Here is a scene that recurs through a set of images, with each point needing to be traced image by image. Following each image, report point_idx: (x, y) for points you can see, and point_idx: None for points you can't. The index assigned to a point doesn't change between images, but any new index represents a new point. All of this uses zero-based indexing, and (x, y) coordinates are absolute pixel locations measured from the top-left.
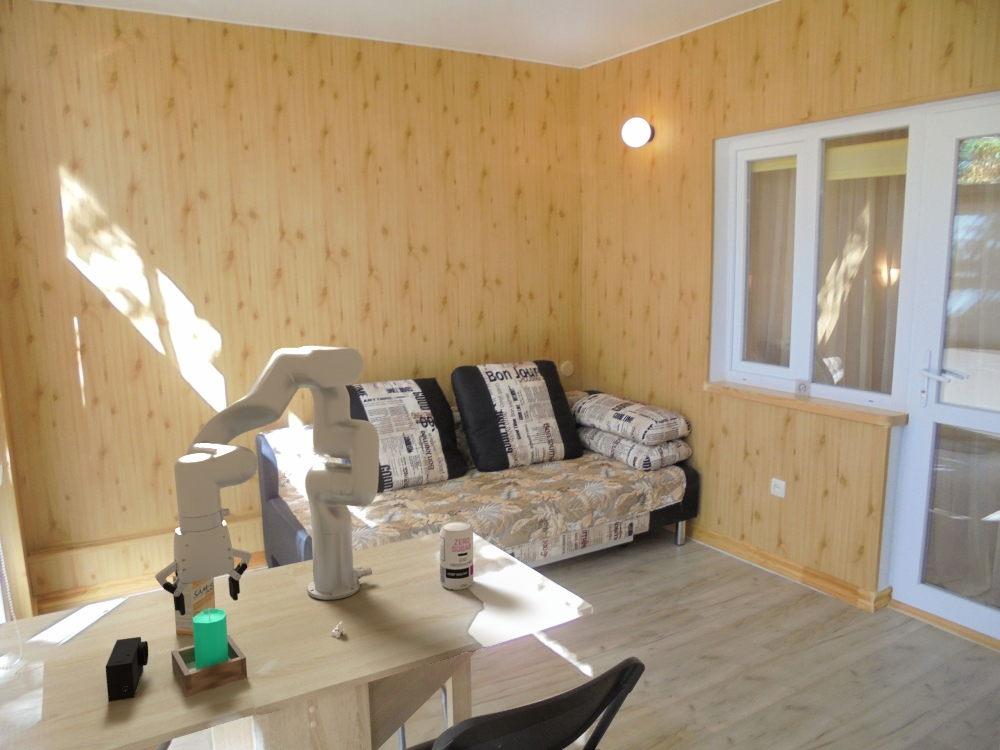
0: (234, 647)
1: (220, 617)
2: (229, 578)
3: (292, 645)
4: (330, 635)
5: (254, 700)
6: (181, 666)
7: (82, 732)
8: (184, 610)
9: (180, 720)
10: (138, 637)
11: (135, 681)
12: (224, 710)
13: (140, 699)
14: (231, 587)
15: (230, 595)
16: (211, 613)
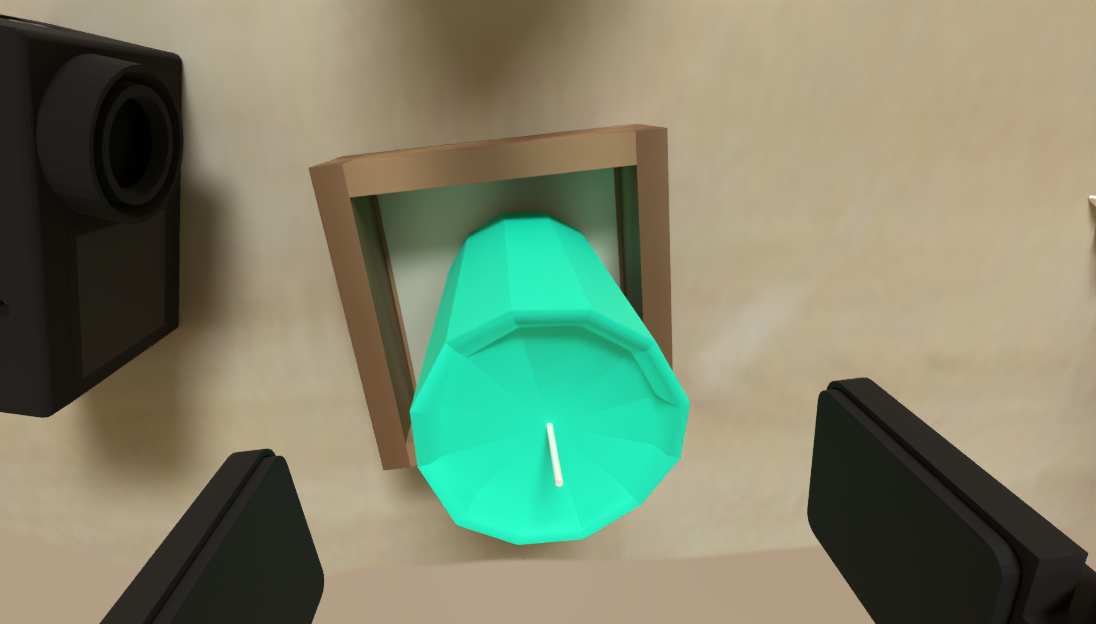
0: (652, 304)
1: (631, 453)
2: (998, 609)
3: (911, 199)
4: (1092, 197)
5: (627, 535)
6: (368, 378)
7: (13, 485)
8: (303, 622)
9: (375, 548)
10: (4, 35)
11: (149, 299)
12: (522, 550)
13: (210, 353)
14: (894, 580)
15: (822, 417)
16: (580, 347)
